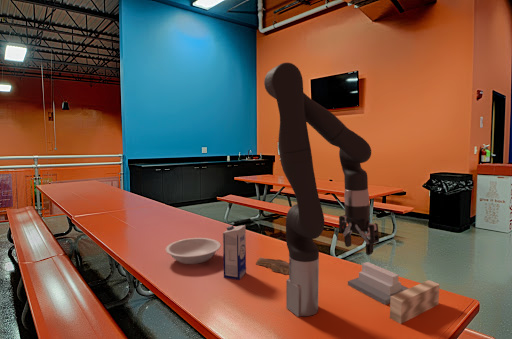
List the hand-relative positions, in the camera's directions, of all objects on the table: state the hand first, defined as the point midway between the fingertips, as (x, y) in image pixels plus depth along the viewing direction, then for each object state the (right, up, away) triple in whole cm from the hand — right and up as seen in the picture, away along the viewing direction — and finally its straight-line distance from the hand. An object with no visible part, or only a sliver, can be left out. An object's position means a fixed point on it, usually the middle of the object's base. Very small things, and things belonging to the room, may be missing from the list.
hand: (358, 250), depth 101 cm
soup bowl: (-61, -15, +37) cm, 73 cm away
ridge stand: (+10, -16, +9) cm, 21 cm away
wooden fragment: (-23, -15, +29) cm, 40 cm away
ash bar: (+16, -18, -5) cm, 25 cm away
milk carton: (-42, -16, +22) cm, 50 cm away
